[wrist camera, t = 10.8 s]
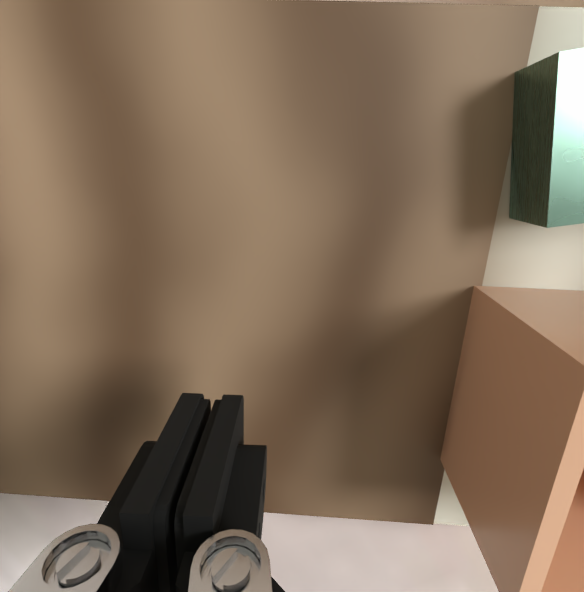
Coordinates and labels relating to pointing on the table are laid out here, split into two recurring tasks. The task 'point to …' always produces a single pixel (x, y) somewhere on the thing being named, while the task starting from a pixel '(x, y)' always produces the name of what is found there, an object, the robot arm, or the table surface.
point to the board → (259, 233)
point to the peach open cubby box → (522, 436)
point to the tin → (549, 142)
